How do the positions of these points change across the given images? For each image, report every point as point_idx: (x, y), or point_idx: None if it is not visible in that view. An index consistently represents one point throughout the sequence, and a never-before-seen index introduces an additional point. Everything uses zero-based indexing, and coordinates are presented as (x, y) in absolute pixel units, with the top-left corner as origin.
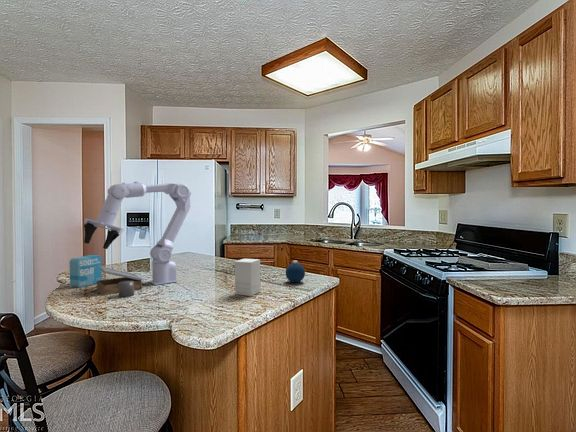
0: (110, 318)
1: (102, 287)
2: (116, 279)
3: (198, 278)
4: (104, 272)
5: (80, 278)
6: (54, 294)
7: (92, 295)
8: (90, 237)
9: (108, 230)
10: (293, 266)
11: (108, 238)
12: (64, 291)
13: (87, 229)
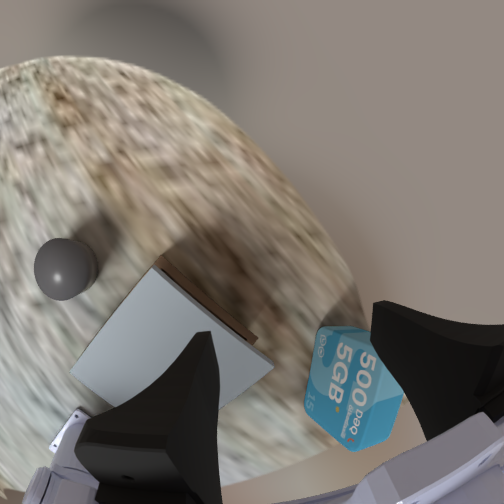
0: (24, 75)
1: (160, 256)
2: None
3: None
4: (155, 266)
5: (333, 340)
6: (328, 241)
7: (197, 248)
8: (397, 368)
9: (154, 444)
10: None
11: (162, 384)
12: (327, 278)
13: (466, 336)
